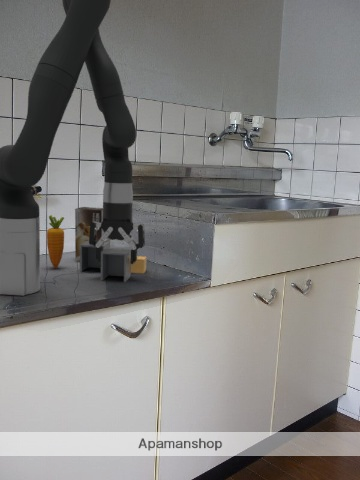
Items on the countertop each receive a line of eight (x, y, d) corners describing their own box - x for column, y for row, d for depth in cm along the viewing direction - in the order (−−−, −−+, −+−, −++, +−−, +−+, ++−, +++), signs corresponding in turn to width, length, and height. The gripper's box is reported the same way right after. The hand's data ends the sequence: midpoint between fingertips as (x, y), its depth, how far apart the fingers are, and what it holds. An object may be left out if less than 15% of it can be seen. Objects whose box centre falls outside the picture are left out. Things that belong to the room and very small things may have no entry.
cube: (143, 273, 136) (144, 259, 136) (129, 272, 137) (129, 258, 136) (146, 270, 140) (146, 256, 140) (132, 269, 141) (132, 256, 140)
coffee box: (110, 260, 152) (111, 208, 149) (101, 264, 146) (102, 210, 143) (84, 257, 155) (84, 206, 152) (74, 261, 149) (74, 208, 146)
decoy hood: (103, 273, 135) (103, 246, 133) (80, 271, 135) (80, 244, 134) (109, 268, 141) (109, 242, 140) (86, 266, 142) (87, 241, 140)
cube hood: (125, 282, 126) (126, 253, 125) (100, 280, 127) (101, 251, 125) (130, 276, 132) (131, 248, 131) (106, 274, 133) (107, 247, 132)
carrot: (67, 266, 140) (67, 214, 138) (61, 270, 136) (61, 216, 133) (50, 265, 141) (49, 213, 138) (43, 269, 136) (43, 215, 134)
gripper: (86, 200, 123) (85, 263, 126) (142, 203, 122) (140, 267, 124) (94, 198, 131) (93, 258, 133) (147, 200, 129) (145, 261, 132)
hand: (116, 262), depth 129 cm, fingers open, 8 cm apart
